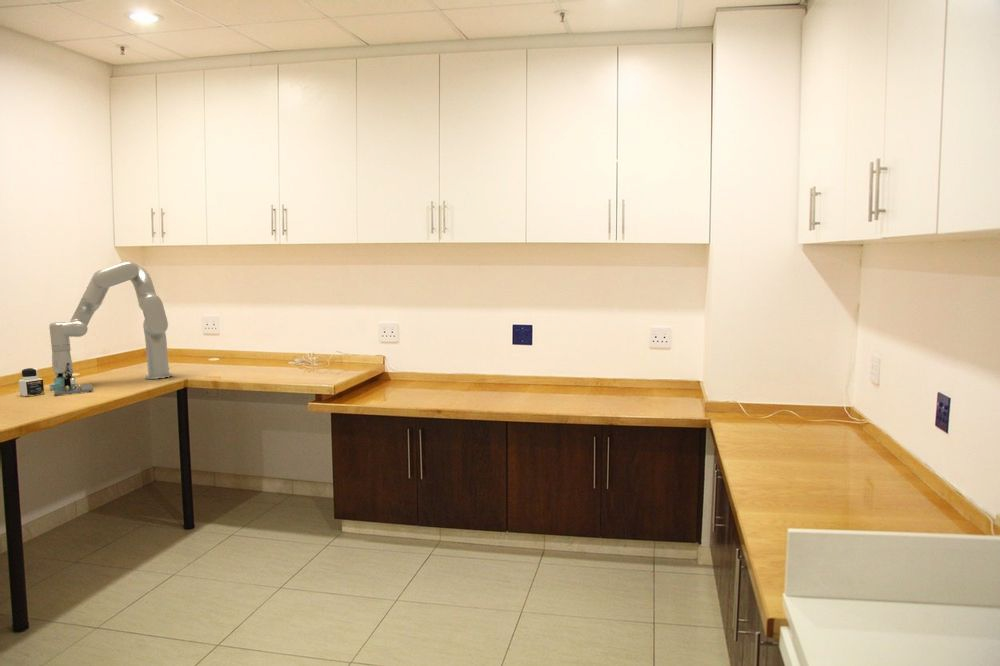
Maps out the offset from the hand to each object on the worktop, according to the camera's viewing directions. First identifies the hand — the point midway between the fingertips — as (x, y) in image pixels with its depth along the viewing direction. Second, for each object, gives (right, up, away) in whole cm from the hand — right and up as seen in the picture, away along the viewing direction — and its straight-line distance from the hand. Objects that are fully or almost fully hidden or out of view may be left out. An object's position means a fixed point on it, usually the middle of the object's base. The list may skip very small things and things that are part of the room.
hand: (65, 385), depth 343 cm
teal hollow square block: (-1, -1, -1) cm, 2 cm away
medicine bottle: (-5, -3, -15) cm, 17 cm away
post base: (+10, -2, -10) cm, 14 cm away
